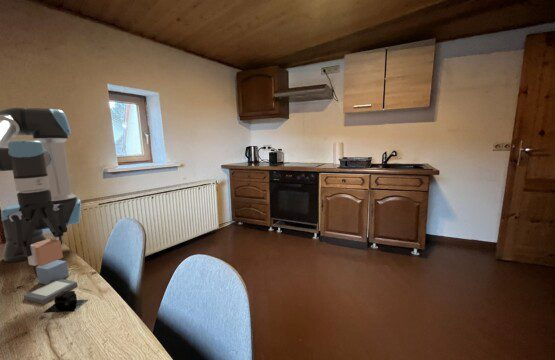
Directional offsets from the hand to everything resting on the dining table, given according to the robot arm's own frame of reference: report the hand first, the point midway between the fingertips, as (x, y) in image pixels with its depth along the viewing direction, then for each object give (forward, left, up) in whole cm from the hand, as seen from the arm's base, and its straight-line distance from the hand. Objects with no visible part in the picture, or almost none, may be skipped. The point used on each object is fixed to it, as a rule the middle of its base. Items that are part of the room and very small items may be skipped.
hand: (46, 259), depth 80 cm
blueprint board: (0, 0, -12) cm, 12 cm away
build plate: (+4, +12, -12) cm, 18 cm away
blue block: (-6, -9, -12) cm, 16 cm away
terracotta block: (0, 0, 0) cm, 0 cm away
